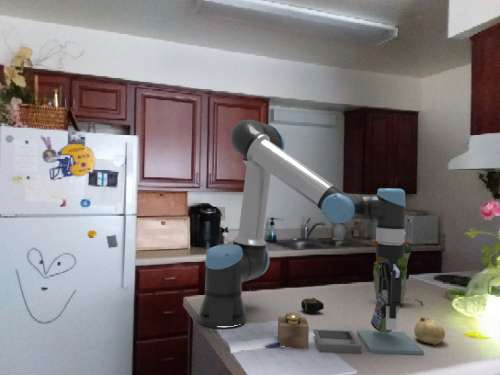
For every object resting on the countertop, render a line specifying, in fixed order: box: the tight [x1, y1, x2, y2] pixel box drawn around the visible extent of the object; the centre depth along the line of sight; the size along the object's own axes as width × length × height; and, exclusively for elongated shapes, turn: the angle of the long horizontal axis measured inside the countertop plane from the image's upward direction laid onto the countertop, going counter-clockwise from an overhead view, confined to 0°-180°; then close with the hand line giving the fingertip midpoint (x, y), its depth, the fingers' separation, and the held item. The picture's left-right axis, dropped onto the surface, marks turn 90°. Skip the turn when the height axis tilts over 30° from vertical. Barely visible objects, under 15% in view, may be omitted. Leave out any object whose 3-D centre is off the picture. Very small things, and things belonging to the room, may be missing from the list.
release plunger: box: [284, 312, 302, 324], centre depth 108 cm, size 4×4×7 cm
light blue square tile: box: [356, 329, 425, 356], centre depth 109 cm, size 14×14×1 cm
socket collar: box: [312, 329, 362, 354], centre depth 107 cm, size 11×11×2 cm
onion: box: [413, 316, 446, 346], centre depth 111 cm, size 8×8×7 cm
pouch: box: [372, 238, 412, 303], centre depth 148 cm, size 11×12×25 cm
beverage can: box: [370, 290, 400, 333], centre depth 111 cm, size 6×7×12 cm
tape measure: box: [300, 297, 325, 313], centre depth 135 cm, size 7×7×4 cm
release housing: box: [277, 315, 310, 349], centre depth 108 cm, size 8×8×6 cm
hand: (388, 326), depth 109 cm, fingers closed on beverage can, 4 cm apart
